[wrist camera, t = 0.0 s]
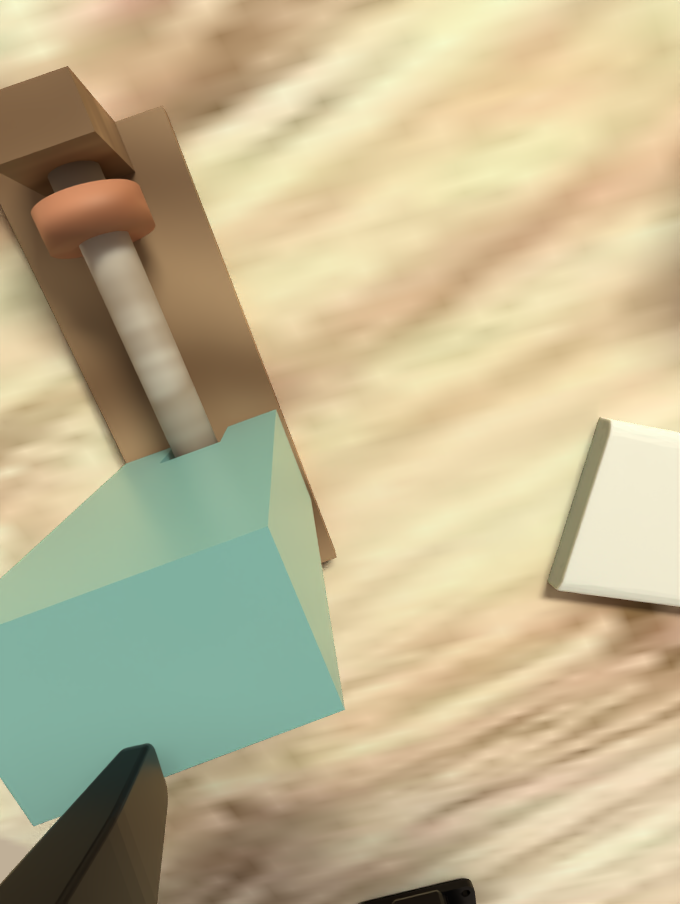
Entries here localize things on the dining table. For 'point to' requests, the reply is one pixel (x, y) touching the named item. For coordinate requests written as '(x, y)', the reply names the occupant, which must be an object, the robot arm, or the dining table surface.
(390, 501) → the dining table surface
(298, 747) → the dining table surface
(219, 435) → the wooden stand
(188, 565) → the notched teal tower
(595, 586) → the external hard drive
